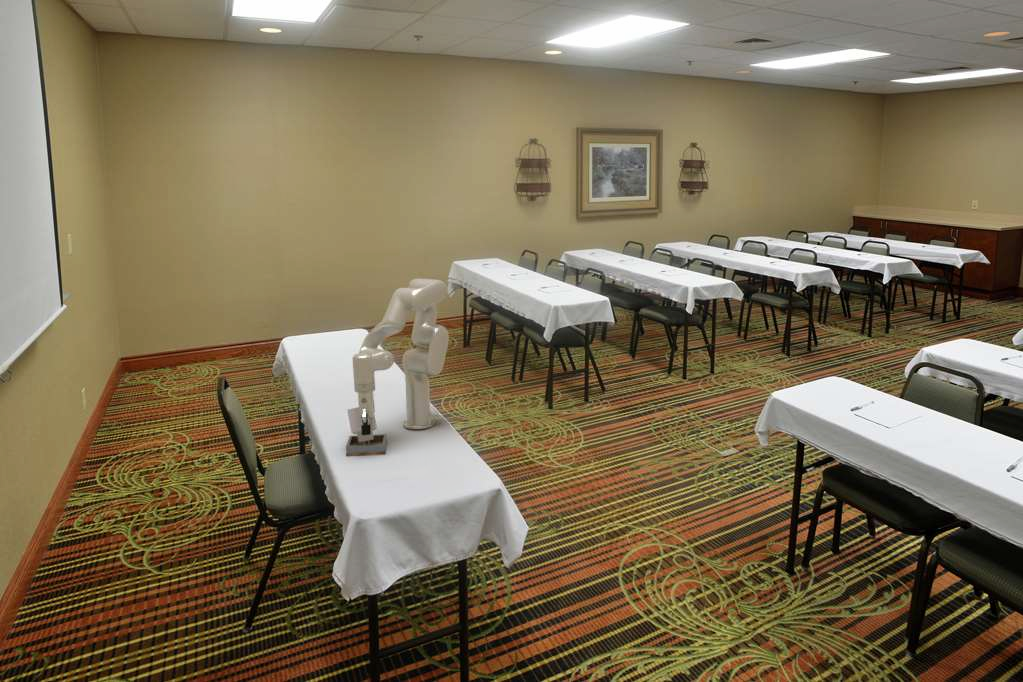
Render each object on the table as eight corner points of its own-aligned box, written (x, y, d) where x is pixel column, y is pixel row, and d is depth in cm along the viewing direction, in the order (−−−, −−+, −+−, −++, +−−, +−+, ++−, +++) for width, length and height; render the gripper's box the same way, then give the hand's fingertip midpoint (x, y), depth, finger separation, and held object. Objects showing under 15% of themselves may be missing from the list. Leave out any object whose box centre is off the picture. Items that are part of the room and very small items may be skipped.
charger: (379, 443, 246) (371, 404, 248) (354, 449, 245) (347, 409, 246) (379, 443, 251) (372, 404, 252) (355, 448, 249) (348, 409, 251)
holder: (387, 443, 255) (386, 434, 254) (385, 454, 243) (384, 444, 243) (350, 445, 253) (349, 435, 253) (346, 456, 242) (345, 446, 241)
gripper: (373, 392, 236) (376, 437, 239) (376, 379, 253) (379, 422, 256) (351, 393, 235) (354, 439, 239) (356, 380, 252) (359, 423, 255)
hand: (367, 430), depth 247 cm, fingers open, 9 cm apart
